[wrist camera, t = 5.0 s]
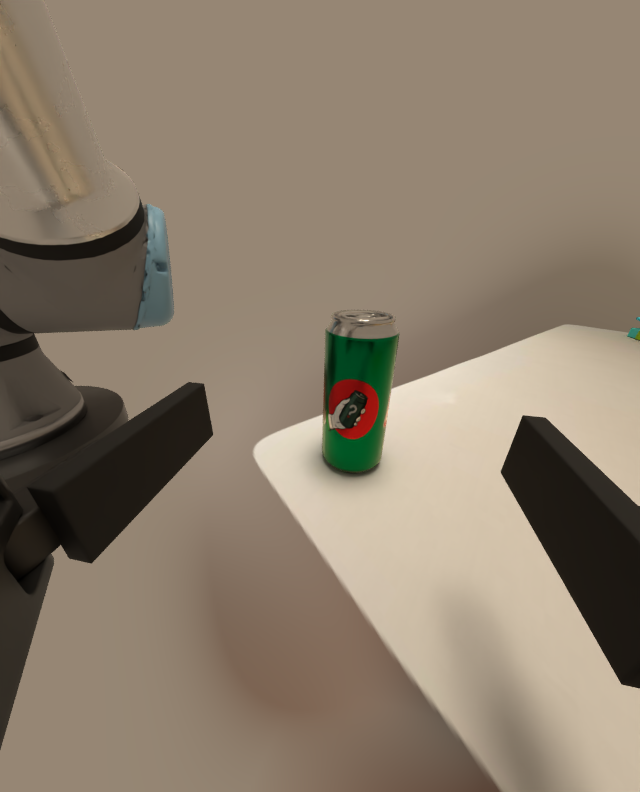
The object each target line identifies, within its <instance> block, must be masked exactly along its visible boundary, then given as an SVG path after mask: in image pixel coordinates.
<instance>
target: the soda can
mask: <svg viewBox="0 0 640 792" xmlns="http://www.w3.org/2000/svg"><path fill="white" fill-rule="evenodd" d="M331 318H332V321H331V322H330V324H329V325H328V327H327V328H326V330H325V364H324V365H325V366H324V367H325V368H324V402H323V437H322V453H323V456H324V458H325V459H326V460H327V461H328V462H329V463H330V464H331V465H332V466H333V467H335V468H336V469H338V470H341V471H344V472H349V473H360V472H364V471H367V470H369V469H371V468H373V467H374V466H376V465H377V464H378V463H379V462H380V460H381V456H382V449H383V443H384V436H385V429H386V422H387V415H388V408H389V402H390V395H391V388H392V381H393V374H394V367H395V361H396V354H397V347H398V340H399V332H398V330H397V328H396V326H395V323H394V322H395V320H396V317H395V316H394V315H391V314H389V313H385V312H379V311H371V310H344V311H338V312H334V313H332V315H331Z"/></svg>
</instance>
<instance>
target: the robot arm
mask: <svg viewBox="0 0 640 792" xmlns="http://www.w3.org/2000/svg"><path fill="white" fill-rule="evenodd" d="M173 314H174V301H173V289H172V278H171V266H170V258H169V247H168V237H167V230H166V223H165V218H164V213H163V211H162V210H161V209H159V208H157V207H153V206H152V205H150V204H146V205H143V206H142V203H141V200H140V197H139V194H138V191H137V188H136V186H135V185H134V182H133V180H132V179H131V178H130V177H129V176H128V175H127V174H126V173H125V172H124V171H123V170H122V169H120V168H119V167H117V166H116V165H115V164H113V163H112V162H110V161H109V160H107V159H106V158H104V155H103V153H102V150H101V147H100V145H99V142H98V140H97V137H96V134H95V132H94V129H93V127H92V124H91V121H90V119H89V116H88V113H87V111H86V108H85V105H84V103H83V100H82V98H81V95H80V92H79V90H78V87H77V85H76V82H75V79H74V77H73V74H72V71H71V69H70V66H69V64H68V61H67V58H66V56H65V53H64V50H63V48H62V45H61V43H60V40H59V37H58V35H57V32H56V30H55V27H54V24H53V22H52V19H51V16H50V14H49V11H48V9H47V6H46V3H45V1H44V0H0V460H3V459H6V458H9V457H12V456H15V455H17V454H20V453H23V452H25V451H28V450H30V449H33V448H35V447H38V446H40V445H42V444H44V443H46V442H48V441H50V440H52V439H54V438H56V437H58V436H60V435H61V434H63V433H65V432H66V431H68V430H69V429H71V428H72V427H73V426H75V425H76V424H77V423H78V422H79V421H80V420H81V419H82V418H83V417H84V416H85V414H86V411H87V407H86V404H85V402H84V400H83V397H82V395H81V393H80V392H79V391H78V390H77V388H76V387H75V386H74V385H73V384H72V383H71V382H70V381H72V380H71V379H70V378H69V377H68V376H67V375H66V374H65V373H64V372H62V371H60V370H59V369H58V368H57V367H56V366H55V365H54V364H53V363H52V362H51V361H50V360H49V359H48V358H47V357H46V356H45V355H44V353H43V352H42V351H41V348H40V346H39V344H38V342H37V339H36V337H35V335H34V333H52V332H78V331H105V330H131V329H133V330H138V329H139V328H145V327H154V326H162V325H165V324H167V323H168V322H170V320H171V319H172V317H173ZM69 380H70V381H69ZM212 435H213V431H212V425H211V420H210V414H209V409H208V404H207V399H206V392H205V387H204V384H200V383H191V382H189V383H187V384H185V385H184V386H182V387H181V388H179V389H177V390H176V391H174V392H173V393H171V394H170V395H168V396H167V397H165V398H164V399H162V400H160V401H159V402H157V403H156V404H154V405H153V406H151V407H150V408H148V409H147V410H145V411H143V412H142V413H140V414H139V415H137V416H136V417H134V418H133V419H131V420H129V421H128V422H126V423H125V424H123V425H122V426H120V427H119V428H117V429H115V430H114V431H112V432H111V433H109V434H108V435H106V436H105V437H102V438H100V439H98V440H95V441H93V442H92V443H90V444H88V445H87V446H85V447H84V448H82V449H81V450H79V452H78V453H74V454H73V455H71V456H70V457H68V458H66V461H62V462H60V463H59V464H57V465H55V466H54V467H52V468H51V469H49V470H48V471H46V472H44V473H43V474H41V475H40V476H38V477H37V478H35V479H33V480H32V481H30V482H29V483H27V484H26V485H24V486H23V487H21V488H19V489H18V490H16V491H15V492H13V493H12V491H11V490H10V488H9V487H8V485H7V484H6V482H5V480H4V479H3V477H2V476H1V474H0V749H1V745H2V742H3V739H4V735H5V732H6V728H7V725H8V721H9V718H10V714H11V711H12V707H13V704H14V700H15V697H16V694H17V690H18V686H19V683H20V680H21V676H22V673H23V669H24V666H25V662H26V659H27V655H28V652H29V648H30V645H31V642H32V638H33V634H34V631H35V628H36V624H37V620H38V617H39V614H40V610H41V607H42V603H43V600H44V596H45V593H46V590H47V586H48V582H49V579H50V576H51V572H52V569H53V565H54V558H53V556H52V554H51V553H52V552H53V551H54V550H56V548H58V547H59V546H60V545H61V546H62V547H63V549H64V551H65V552H66V554H67V556H68V557H69V558H70V559H74V560H79V561H83V562H87V563H92V562H93V561H94V560H95V559H96V558H97V557H98V556H99V555H100V554H101V553H102V552H103V551H104V550H105V549H106V547H108V545H109V544H110V543H111V542H112V541H113V540H114V539H115V538H116V537H117V536H118V535H119V534H120V533H121V532H122V531H123V529H125V527H126V526H127V525H128V524H129V523H130V522H131V521H132V520H133V519H134V518H135V517H136V516H137V515H138V514H139V513H140V512H141V511H142V510H143V508H144V507H145V506H146V505H147V504H148V503H149V502H150V501H151V500H152V499H153V498H154V497H155V496H156V495H157V494H158V493H159V492H160V490H161V489H162V488H163V487H164V486H165V485H166V484H167V483H168V482H169V481H170V480H171V479H172V478H173V477H174V476H175V475H176V474H177V472H178V471H179V470H180V469H181V468H182V467H183V466H184V465H185V464H186V463H187V462H188V461H189V460H190V459H191V457H193V456H194V454H195V453H196V452H197V451H198V450H199V449H200V448H201V447H202V446H203V445H204V444H205V443H206V442H207V441H208V440H209V439H210V438H211V437H212ZM501 474H502V476H503V477H504V479H505V481H506V483H507V484H508V486H509V488H510V490H511V491H512V493H513V495H514V497H515V498H516V500H517V502H518V504H519V505H520V507H521V509H522V511H523V512H524V514H525V516H526V518H527V519H528V521H529V523H530V525H531V526H532V528H533V530H534V532H535V533H536V535H537V537H538V539H539V540H540V542H541V544H542V546H543V547H544V549H545V551H546V553H547V554H548V556H549V558H550V560H551V561H552V563H553V565H554V567H555V568H556V570H557V572H558V574H559V575H560V577H561V579H562V581H563V583H564V584H565V586H566V588H567V590H568V591H569V593H570V595H571V597H572V598H573V600H574V602H575V604H576V605H577V607H578V609H579V611H580V612H581V614H582V616H583V618H584V619H585V621H586V623H587V625H588V626H589V628H590V630H591V632H592V633H593V635H594V637H595V639H596V640H597V642H598V644H599V646H600V647H601V649H602V651H603V653H604V654H605V656H606V658H607V660H608V661H609V663H610V665H611V667H612V668H613V670H614V672H615V674H616V675H617V677H618V679H619V681H620V682H621V684H622V685H627V686H631V687H636V688H640V506H637V505H636V504H635V503H634V502H633V501H632V500H631V499H630V498H629V497H628V496H627V495H626V494H625V493H624V492H623V491H622V490H621V489H620V488H619V487H618V486H617V485H615V484H614V483H613V482H612V481H611V480H610V479H609V478H608V477H607V476H606V475H605V474H604V473H603V472H602V471H601V470H600V469H599V468H598V467H597V466H596V465H594V464H593V463H592V462H591V461H590V460H589V459H588V458H587V457H586V456H585V455H584V454H583V453H582V452H581V451H580V450H579V449H578V448H577V447H576V446H575V445H574V444H572V443H571V442H570V441H569V440H568V439H567V438H566V437H565V436H564V435H563V434H562V433H561V432H560V431H559V430H558V429H557V428H556V427H555V426H554V425H553V424H551V423H550V422H549V421H548V420H547V419H546V418H543V417H533V416H522V419H521V421H520V424H519V427H518V429H517V432H516V434H515V437H514V439H513V442H512V444H511V447H510V450H509V452H508V455H507V457H506V460H505V462H504V465H503V467H502V470H501Z"/></svg>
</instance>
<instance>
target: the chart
mask: <svg viewBox="0 0 640 792" xmlns="http://www.w3.org/2000/svg"><path fill="white" fill-rule="evenodd" d="M636 319H637V320H639V321H640V318H639V317H637V318H636ZM628 336H629V337H632V338H635V339H637V340H640V328H631V330H630V332H629V334H628Z"/></svg>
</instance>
